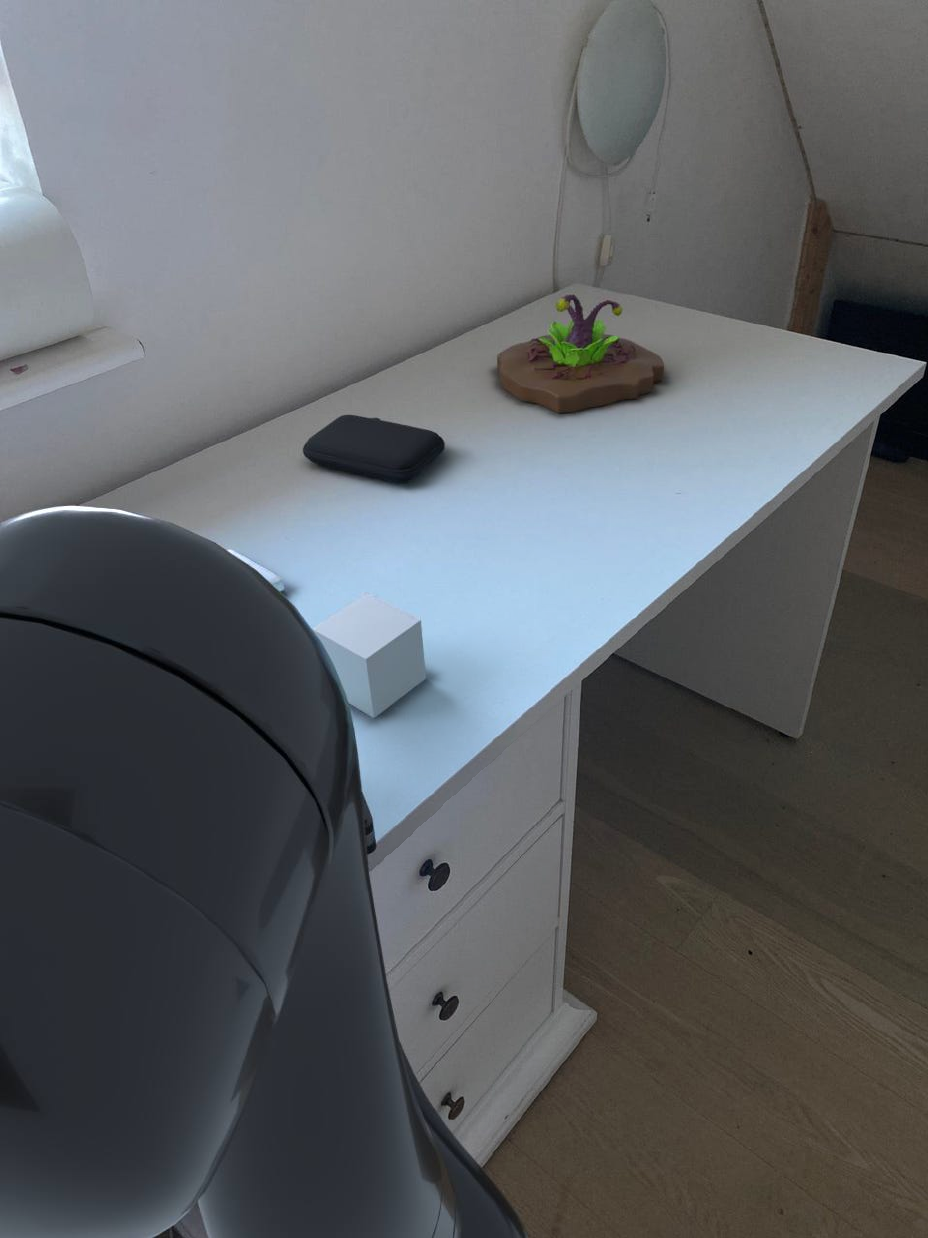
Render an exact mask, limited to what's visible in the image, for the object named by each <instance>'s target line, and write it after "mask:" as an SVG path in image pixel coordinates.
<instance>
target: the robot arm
mask: <svg viewBox="0 0 928 1238" xmlns="http://www.w3.org/2000/svg"><path fill="white" fill-rule="evenodd" d="M227 550H228V549H225V548H224V547H223V546H221V545H219V544H218V543H217V542H215V541H213V540H211V539H208V538H206V537H204V536H202V535H199V534H197V533H195V532H193V531H190V530H188V529H186V528H184V527H181V526H179V525H177V524H175V523H173V522H171V521H166V520H162V519H159V518H156V517H151V516H147V515H145V514H140V513H136V512H134V511H129V510H123V509H116V508H105V507H93V506H85V505H84V506H82V505H60V506H51V507H46V508H41V509H40V508H39V509H35V510H32V511H28V512H25V513H22V514H20V515H18V516H14V517H12V518H8V519H6V520H4V521H1V522H0V1238H155V1237H157V1236H159V1235H160V1234H162V1233H163V1232H165V1231H167V1230H168V1229H170V1228H171V1227H173V1226H175V1225H176V1224H177V1223H178V1222H179V1221H180V1220H181V1219H182V1218H184V1217H185V1216H186V1215H187V1214H188V1213H189V1212H190V1211H191V1210H192V1209H193V1208H194V1206H195V1205H196V1204H197V1205H198V1208H199V1211H200V1215H201V1218H202V1222H203V1225H204V1228H205V1232H206V1236H207V1238H531V1237H530V1234H529V1233H528V1232H529V1231H528V1230H527V1228H526V1226H525V1224H524V1222H523V1221H522V1219H521V1217H520V1216H519V1214H518V1212H517V1211H516V1209H515V1208H514V1207H513V1205H512V1204H511V1202H510V1201H509V1200H508V1198H507V1197H506V1196H505V1194H504V1192H502V1190H501V1189H500V1188H499V1187H498V1185H497V1184H496V1183H495V1181H494V1180H493V1179H492V1178H491V1177H490V1176H489V1174H488V1173H486V1171H485V1170H484V1169H483V1167H481V1165H480V1164H479V1163H478V1162H477V1160H476V1159H475V1158H474V1157H473V1156H472V1155H471V1153H470V1152H469V1151H468V1150H467V1149H466V1148H465V1147H464V1146H463V1144H462V1142H460V1140H459V1139H458V1138H457V1136H456V1135H455V1134H454V1133H453V1132H452V1130H451V1129H450V1128H449V1127H448V1125H447V1123H445V1121H444V1120H443V1118H442V1116H440V1114H439V1113H438V1111H437V1109H436V1108H435V1107H434V1106H433V1104H432V1103H431V1101H430V1099H429V1097H428V1096H427V1094H426V1093H425V1091H424V1089H423V1087H422V1086H421V1084H420V1082H419V1080H418V1078H417V1077H416V1075H415V1073H414V1070H413V1068H412V1066H411V1064H410V1061H409V1059H408V1057H407V1055H406V1052H405V1050H404V1048H403V1045H402V1043H401V1040H400V1036H399V1033H398V1027H397V1024H396V1019H395V1014H394V1009H393V1004H392V999H391V993H390V990H389V989H390V988H389V984H388V979H387V973H386V967H385V961H384V955H383V949H382V943H381V937H380V932H379V925H378V920H377V918H378V917H377V913H376V906H375V901H374V894H373V888H372V882H371V876H370V875H371V874H370V868H369V856H368V855H370V854H373V853H375V851H376V850H377V839H376V831H375V826H374V819H373V815H372V813H371V810H370V808H369V806H368V803H367V801H366V800H367V799H366V797H365V795H364V792H363V788H362V786H363V785H362V780H361V779H362V777H361V776H362V775H361V769H360V768H361V767H360V761H359V759H360V758H359V752H358V751H359V750H358V744H357V737H356V729H355V725H354V721H353V717H352V713H351V712H352V711H351V708H350V705H349V703H348V700H347V696H346V693H345V691H344V688H343V686H342V683H341V681H340V678H339V676H338V674H337V671H336V669H335V666H334V664H333V662H332V660H331V658H330V657H329V655H328V653H327V651H326V649H325V647H324V645H323V644H322V642H321V641H320V639H319V638H318V637H317V635H316V634H315V633H314V631H313V630H312V627H311V626H310V625H309V623H308V622H307V621H306V619H305V618H304V616H303V615H302V614H301V613H300V611H299V609H298V608H297V607H296V606H295V604H294V603H293V602H291V601H290V600H289V599H288V598H287V596H285V595H284V594H283V593H282V592H281V591H280V592H279V591H278V590H277V589H276V588H275V587H274V586H273V585H272V584H271V583H270V582H269V581H268V580H267V579H266V578H265V577H264V576H262V575H261V574H260V573H259V572H258V571H257V570H255V569H254V568H253V567H251V566H250V565H248V564H247V563H245V562H244V561H242V560H240V559H239V558H237V557H236V556H234V555H233V554H231V553H230V552H228V551H227Z"/></svg>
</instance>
